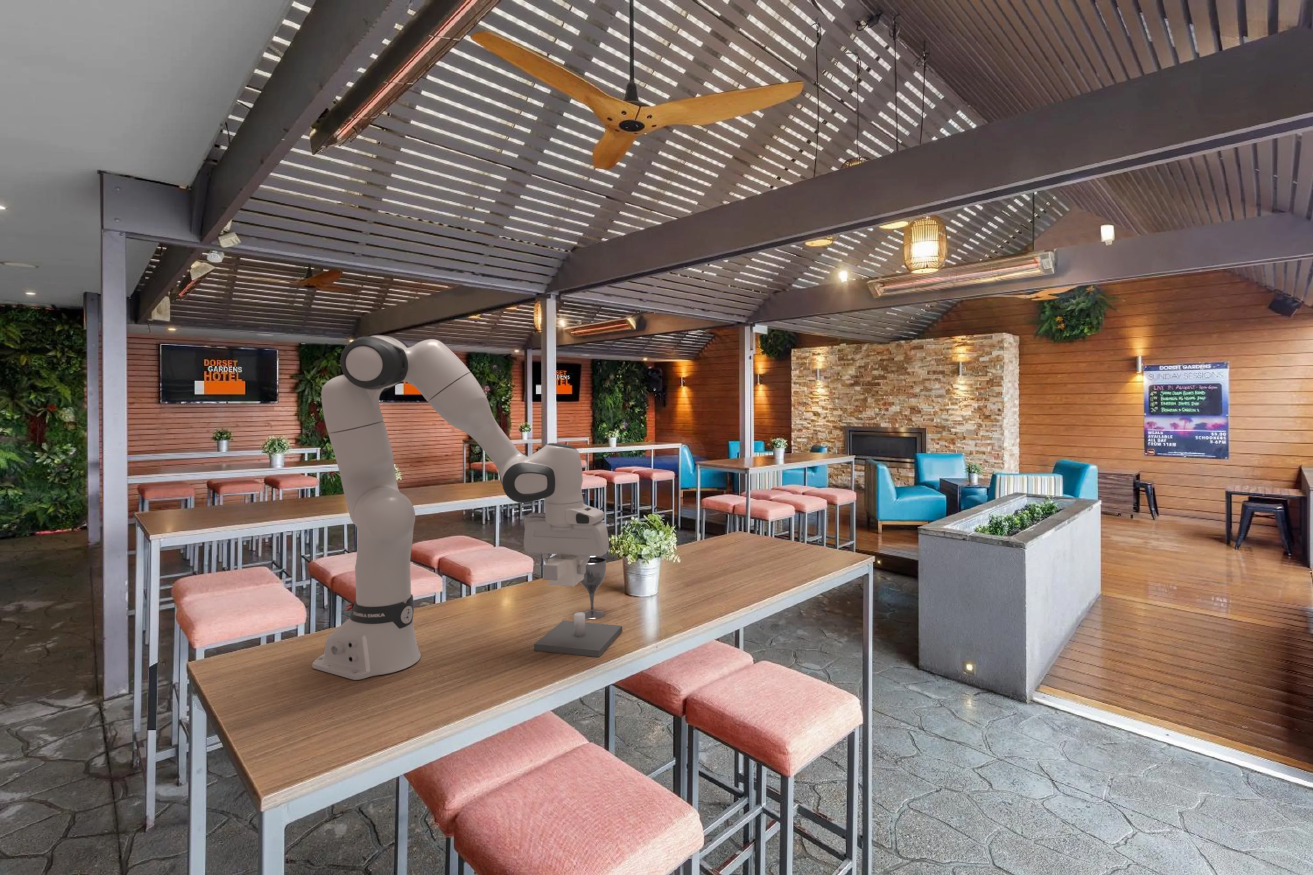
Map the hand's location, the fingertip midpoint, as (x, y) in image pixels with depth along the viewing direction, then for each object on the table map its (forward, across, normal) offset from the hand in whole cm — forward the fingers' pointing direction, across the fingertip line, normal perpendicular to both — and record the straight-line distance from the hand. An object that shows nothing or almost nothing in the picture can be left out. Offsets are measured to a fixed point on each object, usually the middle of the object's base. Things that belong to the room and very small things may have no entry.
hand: (566, 572), depth 139 cm
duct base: (+18, 0, +5) cm, 19 cm away
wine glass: (+18, -4, +23) cm, 30 cm away
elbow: (+2, 0, -3) cm, 3 cm away
